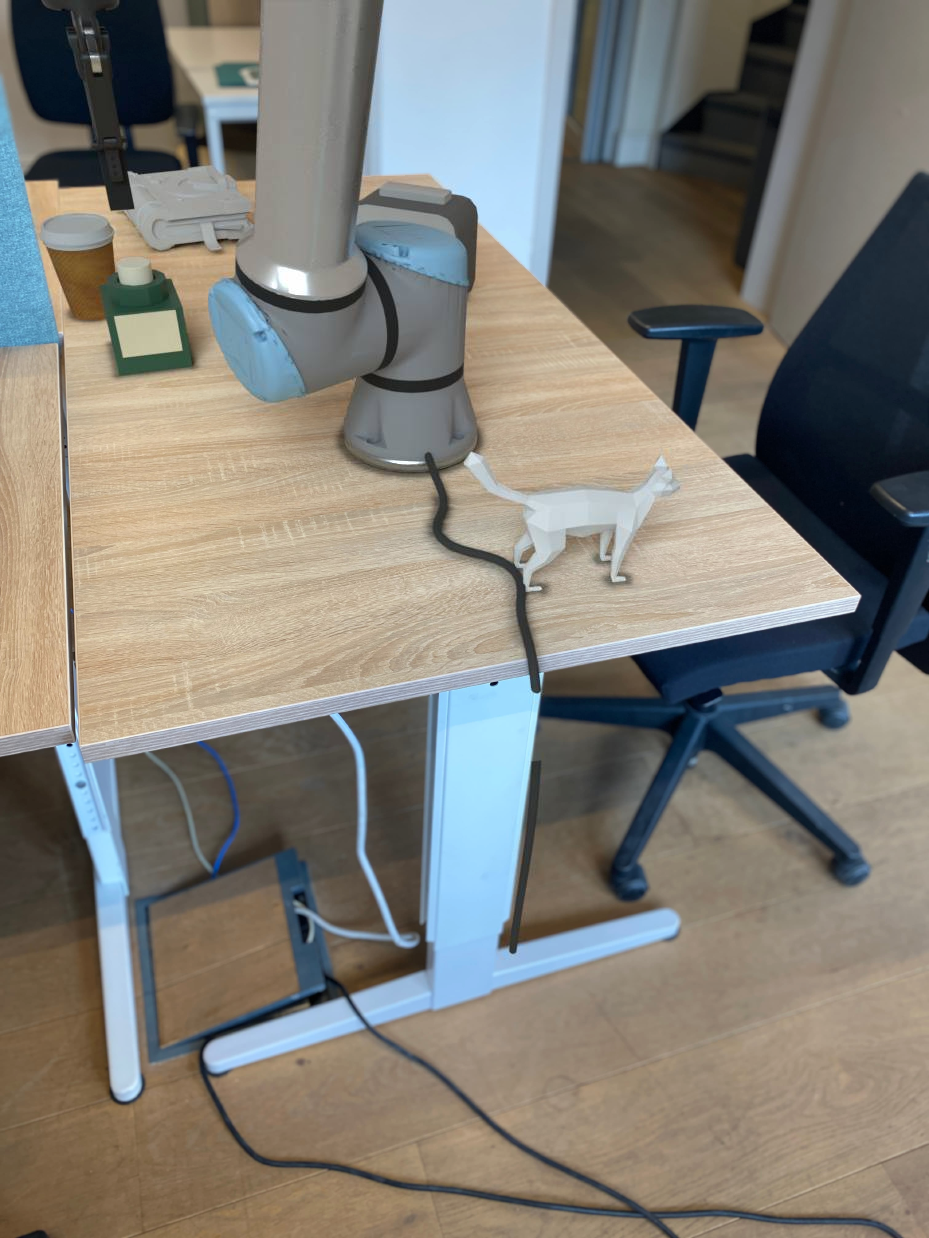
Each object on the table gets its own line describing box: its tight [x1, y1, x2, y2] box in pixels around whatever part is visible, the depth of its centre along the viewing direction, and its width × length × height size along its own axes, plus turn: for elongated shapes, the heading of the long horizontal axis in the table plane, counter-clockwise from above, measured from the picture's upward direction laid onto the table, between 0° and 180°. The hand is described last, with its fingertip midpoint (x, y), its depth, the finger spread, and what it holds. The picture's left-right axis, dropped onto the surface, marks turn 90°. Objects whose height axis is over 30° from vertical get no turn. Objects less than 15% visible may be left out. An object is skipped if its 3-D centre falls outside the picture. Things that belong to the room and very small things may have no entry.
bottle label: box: [114, 310, 183, 358], centre depth 111 cm, size 1×7×5 cm, turn 112°
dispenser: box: [99, 268, 193, 377], centre depth 114 cm, size 10×9×10 cm
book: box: [122, 165, 254, 252], centre depth 153 cm, size 19×28×8 cm
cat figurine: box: [463, 451, 682, 593], centre depth 81 cm, size 4×20×14 cm, turn 102°
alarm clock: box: [356, 180, 479, 294], centre depth 131 cm, size 16×11×16 cm
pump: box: [115, 256, 154, 286], centre depth 111 cm, size 4×4×2 cm
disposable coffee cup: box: [38, 212, 116, 321], centre depth 123 cm, size 10×10×12 cm
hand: (122, 208), depth 106 cm, fingers closed
